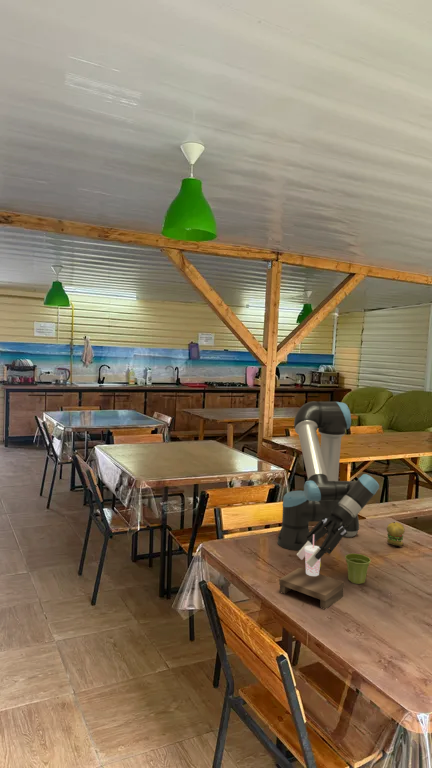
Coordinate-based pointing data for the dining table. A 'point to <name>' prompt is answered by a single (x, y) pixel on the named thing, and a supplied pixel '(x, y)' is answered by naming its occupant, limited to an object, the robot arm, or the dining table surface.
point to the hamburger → (395, 533)
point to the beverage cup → (308, 552)
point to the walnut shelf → (313, 586)
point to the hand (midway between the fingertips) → (303, 560)
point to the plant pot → (357, 567)
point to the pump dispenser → (352, 527)
